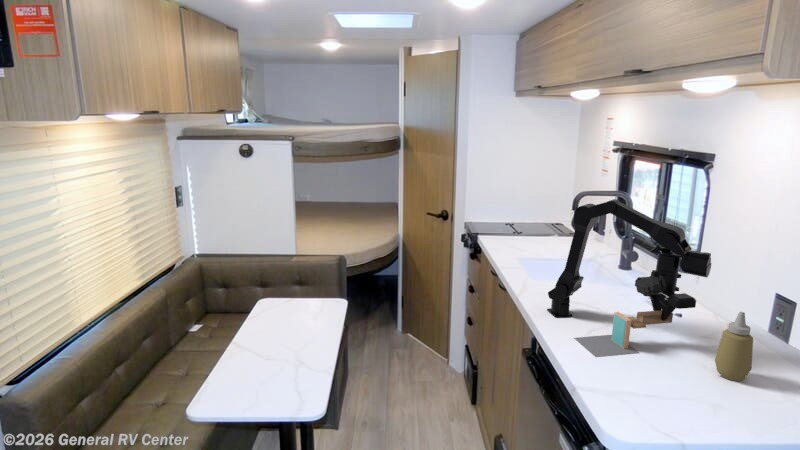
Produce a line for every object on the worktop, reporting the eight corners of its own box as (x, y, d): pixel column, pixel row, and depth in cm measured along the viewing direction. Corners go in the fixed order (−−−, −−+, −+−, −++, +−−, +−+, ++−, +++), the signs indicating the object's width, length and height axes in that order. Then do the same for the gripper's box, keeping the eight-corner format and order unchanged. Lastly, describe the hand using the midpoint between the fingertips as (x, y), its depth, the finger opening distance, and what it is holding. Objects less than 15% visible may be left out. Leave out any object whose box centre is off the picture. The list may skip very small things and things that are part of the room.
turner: (620, 319, 142) (621, 310, 141) (661, 316, 145) (662, 307, 144) (633, 328, 136) (634, 319, 136) (675, 325, 139) (677, 315, 138)
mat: (573, 339, 144) (573, 337, 144) (614, 336, 147) (614, 334, 146) (595, 359, 133) (595, 357, 133) (639, 354, 135) (640, 353, 135)
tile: (610, 339, 143) (613, 312, 141) (615, 339, 143) (618, 311, 141) (623, 349, 137) (626, 320, 135) (627, 348, 138) (631, 320, 136)
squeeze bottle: (705, 370, 127) (715, 309, 123) (726, 365, 129) (736, 304, 125) (735, 386, 119) (747, 321, 115) (756, 380, 122) (769, 316, 118)
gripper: (622, 260, 145) (616, 307, 148) (665, 281, 127) (657, 334, 131) (654, 259, 147) (648, 305, 150) (701, 279, 129) (692, 331, 132)
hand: (660, 318), depth 141 cm, fingers closed on turner, 3 cm apart
